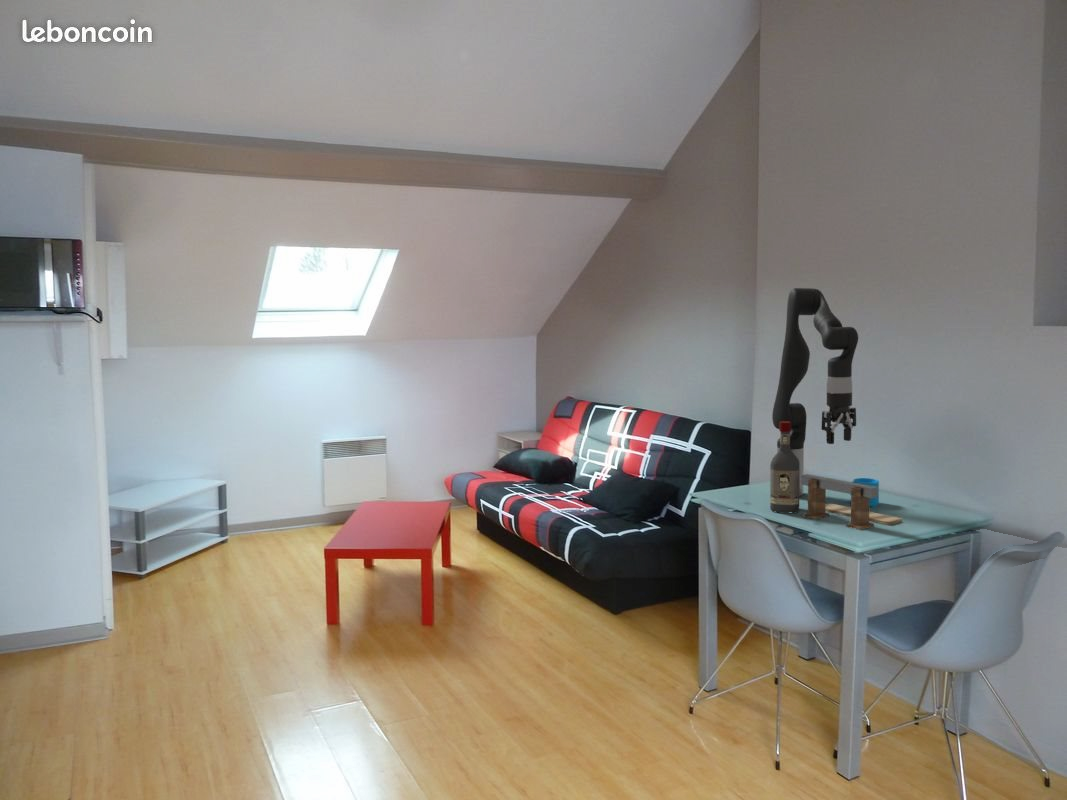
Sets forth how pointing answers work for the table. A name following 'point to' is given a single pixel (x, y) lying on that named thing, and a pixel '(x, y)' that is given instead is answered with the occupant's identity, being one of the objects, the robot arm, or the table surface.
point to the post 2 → (859, 510)
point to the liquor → (784, 475)
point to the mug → (871, 483)
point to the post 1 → (816, 501)
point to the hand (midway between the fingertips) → (838, 442)
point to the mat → (872, 516)
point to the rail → (840, 485)
